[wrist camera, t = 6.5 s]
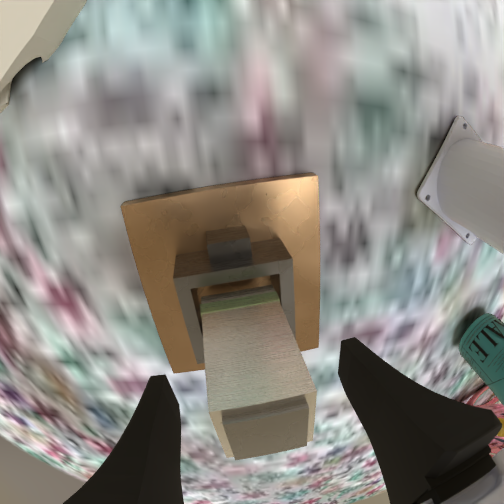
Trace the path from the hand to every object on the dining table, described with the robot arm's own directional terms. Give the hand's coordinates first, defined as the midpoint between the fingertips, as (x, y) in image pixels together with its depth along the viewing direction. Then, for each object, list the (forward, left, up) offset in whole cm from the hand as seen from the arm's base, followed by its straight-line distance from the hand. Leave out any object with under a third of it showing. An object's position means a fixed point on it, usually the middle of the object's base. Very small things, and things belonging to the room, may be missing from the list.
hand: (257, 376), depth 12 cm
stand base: (-1, +1, -10) cm, 11 cm away
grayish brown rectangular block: (-1, +1, -6) cm, 6 cm away
